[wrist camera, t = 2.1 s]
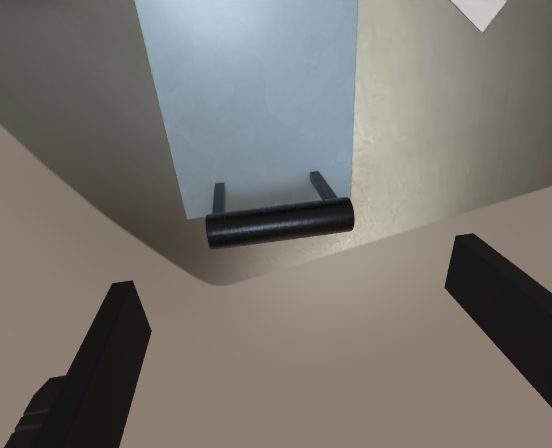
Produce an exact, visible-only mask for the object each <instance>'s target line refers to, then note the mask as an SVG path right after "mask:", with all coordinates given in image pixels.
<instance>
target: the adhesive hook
mask: <svg viewBox="0 0 552 448" xmlns="http://www.w3.org/2000/svg"><path fill="white" fill-rule="evenodd" d="M451 1H452V2H453V3H454V4H455V5H456V6H457V7H458V8H459V9H460V10H461V11H462V12H463V13H464V14H465V15H466V17H467V18H468V19H469V20H470V21H471V22H472V23H473V24H474V25H475V26H476V27H477V28H478V29H479V30H480V31H481V32H483V31H484V30H485V28H486V27H487V26H488V25H489V23H490V22H491V21H492V19H493V18H494V17H495V16H496V14H497V13H498V12H499V10H500V9H501V8H502V7H503V5H504V4H505V3H506V1H507V0H451Z"/></svg>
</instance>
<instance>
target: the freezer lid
mask: <svg viewBox="0 0 552 448" xmlns="http://www.w3.org/2000/svg"><path fill="white" fill-rule="evenodd" d="M134 2H135V6H136V10H137V14H138V18H139V23H140V27H141V31H142V35H143V39H144V43H145V47H146V52H147V56H148V60H149V64H150V68H151V72H152V76H153V81H154V85H155V89H156V93H157V97H158V101H159V105H160V110H161V114H162V118H163V122H164V126H165V130H166V134H167V139H168V143H169V147H170V151H171V155H172V159H173V164H174V168H175V172H176V176H177V180H178V184H179V188H180V193H181V197H182V201H183V205H184V209H185V213H186V217H187V219H195V218H203V217H206V233H207V239H208V244H209V247H210V249H211V250H216V249H224V248H231V247H238V246H246V245H253V244H260V243H268V242H275V241H282V240H290V239H297V238H305V237H312V236H319V235H327V234H334V233H341V232H349V231H352V230H353V228H354V210H353V206H352V203H351V201H350V198H351V177H352V150H353V123H354V96H355V69H356V41H357V14H358V0H134Z"/></svg>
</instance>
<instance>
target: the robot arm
mask: <svg viewBox="0 0 552 448" xmlns="http://www.w3.org/2000/svg"><path fill="white" fill-rule="evenodd" d="M445 289H446V290H447V291H448V292H449V293H450V294H451V295H452V296H453V298H454V299H455V300H456V301H457V302H458V303H459V304H460V305H461V307H462V308H463V309H464V310H465V311H466V312H467V313H468V314H469V316H470V317H471V318H472V319H473V320H474V321H475V322H476V323H477V324H478V326H479V327H480V328H481V329H482V330H483V331H484V332H485V333H486V335H487V336H488V337H489V338H490V339H491V340H492V341H493V342H494V344H495V345H496V346H497V347H498V348H499V349H500V350H501V351H502V353H503V354H504V355H505V356H506V357H507V358H508V359H509V360H510V361H511V363H512V364H513V365H514V366H515V367H516V368H517V369H518V370H519V372H520V373H521V374H522V375H523V376H524V377H525V378H526V379H527V380H528V382H529V383H530V384H531V385H532V386H533V387H534V388H535V389H536V390H537V392H538V393H539V394H540V395H541V396H542V397H543V398H544V399H545V401H546V402H547V403H548V404H549V405H550V406H551V407H552V293H551V292H550V291H548V290H547V289H546V288H544V287H543V286H541V285H540V284H539V283H538V282H536V281H535V280H534V279H532V278H531V277H530V276H528V275H527V274H526V273H525V272H523V271H522V270H521V269H519V268H518V267H517V266H515V265H514V264H513V263H511V262H510V261H509V260H508V259H506V258H505V257H504V256H502V255H501V254H500V253H498V252H497V251H496V250H494V249H493V248H492V247H490V246H489V245H488V244H487V243H485V242H484V241H483V240H481V239H480V238H479V237H477V236H476V235H475V234H473V233H472V234H465V235H458V236H456V237H455V241H454V246H453V251H452V255H451V260H450V264H449V269H448V273H447V278H446V283H445ZM151 332H152V331H151V328H150V326H149V323H148V320H147V318H146V315H145V312H144V309H143V307H142V304H141V301H140V299H139V296H138V294H137V291H136V288H135V285H134V283H133V281H125V282H118V283H112V285H111V287H110V289H109V291H108V293H107V295H106V297H105V299H104V301H103V303H102V305H101V307H100V309H99V311H98V313H97V315H96V317H95V319H94V321H93V323H92V325H91V327H90V329H89V331H88V333H87V335H86V337H85V339H84V341H83V343H82V345H81V347H80V349H79V351H78V352H77V354H76V356H75V358H74V360H73V362H72V364H71V366H70V369H69V370H68V372H67V374H66V376H60V377H53V378H50V379H49V380H48V381H47V382H46V383H45V384H44V385H43V386H42V387H41V388H40V389H39V390H38V391H37V392H36V393H35V395H34V396H33V398H32V399H31V401H30V403H29V405H28V407H27V408H26V410H25V412H24V416H23V417H21V419H20V421H19V422H18V424H17V426H16V427H15V432H14V433H12V435H11V436H10V438H9V440H8V442H7V444H6V445H5V447H4V448H119V446H120V442H121V439H122V435H123V432H124V428H125V425H126V421H127V417H128V414H129V410H130V407H131V403H132V399H133V396H134V392H135V388H136V385H137V382H138V378H139V374H140V371H141V367H142V364H143V360H144V357H145V353H146V349H147V345H148V342H149V339H150V335H151Z"/></svg>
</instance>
